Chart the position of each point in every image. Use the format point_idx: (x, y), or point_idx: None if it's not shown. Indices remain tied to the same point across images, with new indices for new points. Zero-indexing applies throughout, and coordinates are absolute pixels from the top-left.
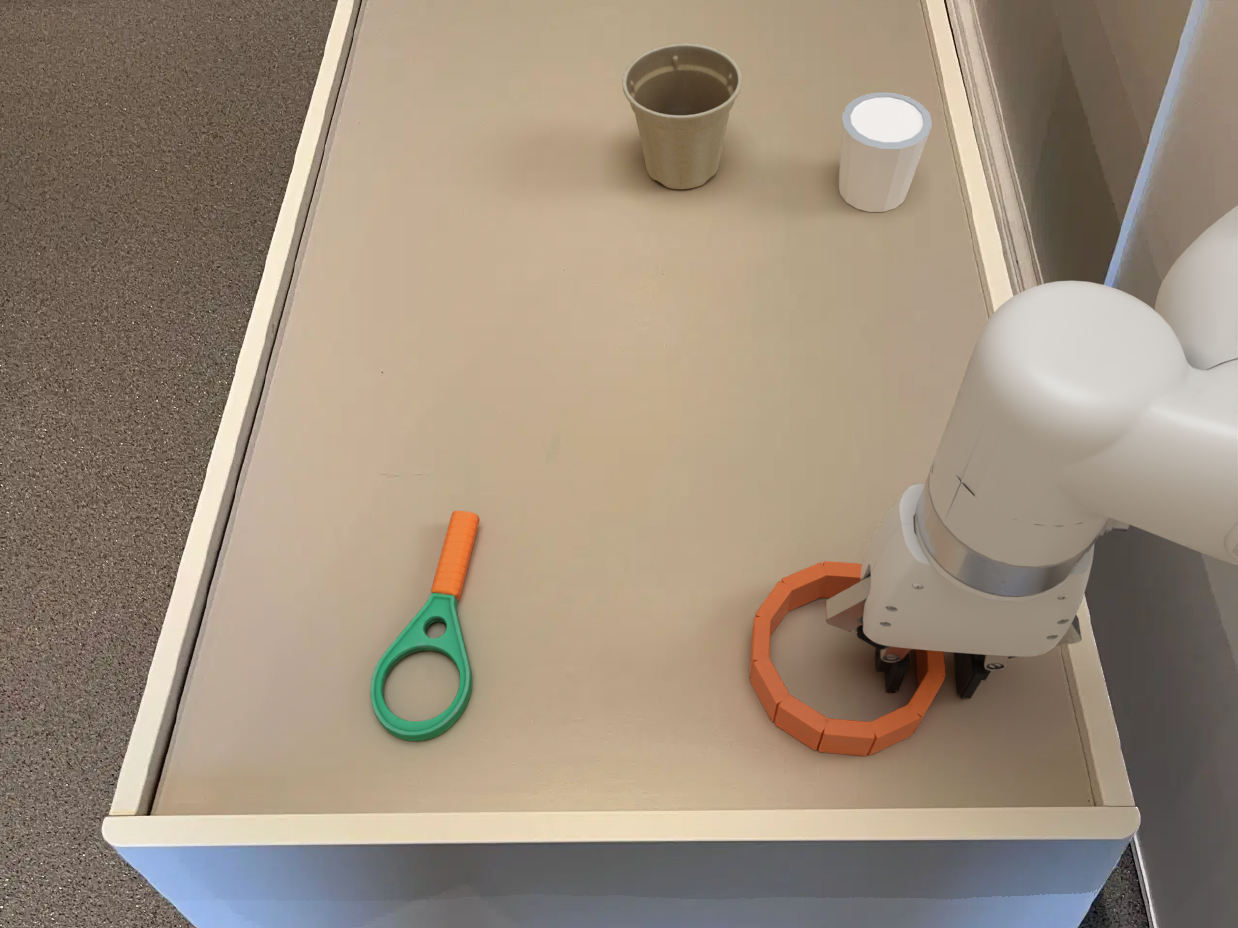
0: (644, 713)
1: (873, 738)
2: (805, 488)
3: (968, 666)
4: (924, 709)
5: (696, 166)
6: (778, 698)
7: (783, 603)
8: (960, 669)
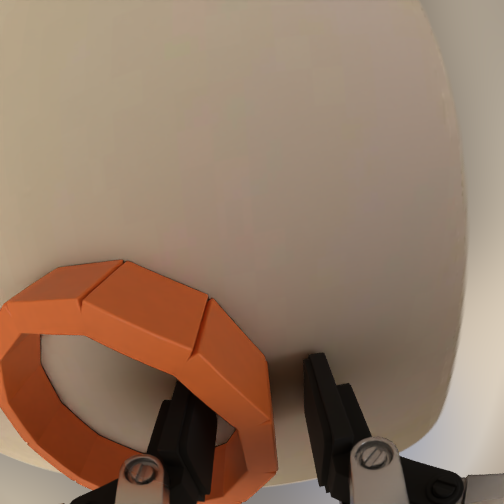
0: (7, 418)
1: None
2: (20, 82)
3: (317, 465)
4: (246, 499)
5: None
6: (71, 477)
7: (4, 378)
8: (309, 417)
